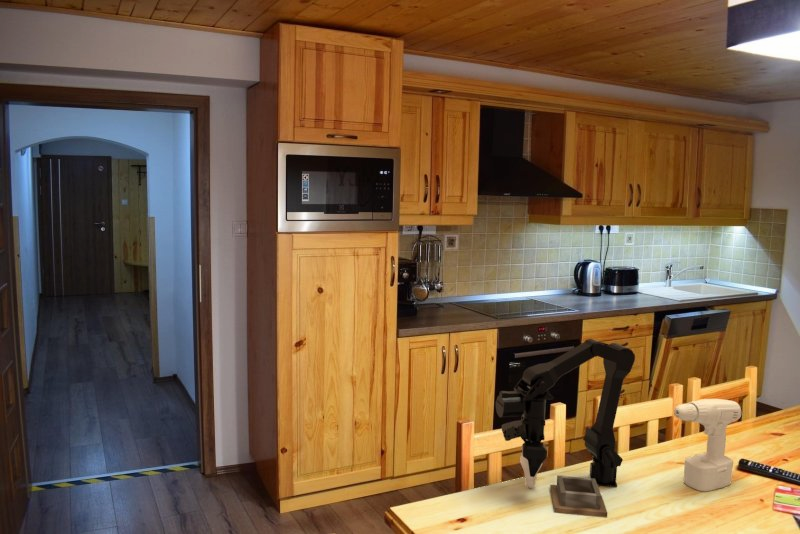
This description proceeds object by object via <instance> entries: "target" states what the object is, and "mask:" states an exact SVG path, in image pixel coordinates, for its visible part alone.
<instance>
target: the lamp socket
mask: <svg viewBox="0 0 800 534" xmlns="http://www.w3.org/2000/svg"><path fill="white" fill-rule="evenodd" d="M549 491H550V495H551V500H552V501H551V502H552V506H553V511H554V513H559V514H570V515H578V516H579V515H580V516H590V517H591V516H592V517H600V518H607V517H608V511H607V510H608V509H607V508H606V505H605V502H604V499H603V497H602V494H601V490H600V488H599V485H597V483H596V480H595V479H594V478H590V477H581V476H570V475H569V476H568V475H560V474H559V475H556V484H550V485H549Z"/></svg>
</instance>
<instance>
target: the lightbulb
mask: <svg viewBox="0 0 800 534" xmlns="http://www.w3.org/2000/svg"><path fill="white" fill-rule="evenodd" d="M519 461H520V466H521V467H522V469H523V472H524V473H523V474H524V480H525V481H524V482H525V486H526V487H527V488H528V489H533V488H534V487H535V484H536V480H537V475H538V473H539V471H540V470H541V468H542V466H543V463H544V462H543V463H542V464H541V466H540V468H539V469H538V471H537V473H536V475H535V476H534V477H531V476H530V471H529V464H528V460H527V459H526V458H524V457H523V454H522V453H521V454H520V458H519Z"/></svg>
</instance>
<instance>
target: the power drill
mask: <svg viewBox="0 0 800 534" xmlns="http://www.w3.org/2000/svg"><path fill="white" fill-rule="evenodd" d="M673 414H674V416H675V417H676V418H677V419H679V420H681V421H685V422H686V421H688V422H691V423H698V424H700V425H702V426H703V427H704V430H703V434H704V435H707V442H706V452H702V453H697V454H694V455H691V456H687V457H685V459H684V469H683V471H684V472H683V483H684V484H685V485H687V486H688V487H690V488H692V489H694V490H696V491H698V492H699V491H700V492H710V491H715V490H718V489H722V488H725V487H728V486H730V485H731V482H732V475H733V467H734V459H732V458H730V457H728V456H726V455H725V451H726V445H727V444H726V442H727V438H726V437H727V428H728V425H730V424H732V423H734V422H736V421H738V420H739V419H740V418H741V416H742V409H741V405H740V404H739V403H738V402H736V401H734V400H730V399H723V398H722V399H721V398H703V399H698V400H693V401H689V402H687V403H680V404H678V405H676V406H675V408H674V409H673Z"/></svg>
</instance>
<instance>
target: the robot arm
mask: <svg viewBox="0 0 800 534" xmlns="http://www.w3.org/2000/svg"><path fill="white" fill-rule="evenodd" d="M595 357H598V358H602V359H603V368H604V371H605V376H604V381H603V385H602V390H601V395H600V399H599V403H598V408H597V413H596V418H595V422H594V424H592V426H591V427H589V426H586V427H585V433H584V434H585V435H584V437H583V439H582V440H583V441H584V447H585V448H586V449H587V451H588V453H589V455H590V456H592V462H590V464H589V478H594V479H595V480H596V483H597V486H602V487H603V486H604V487H613V488H614V487H615V488H617V487H618V484H617V475H618V474H617V473H618V472H617V471H618V467H621V465H622V464H623V461H624V459H623V458H622V457H621V456H620V455H619V453H618V452H616V437H615V433H614V427H615V426H614V424H615V421H616V416H617V412H618V407H619V403H620V399H621V394H622V393H621V392H622V388H623V383H624V380H625V378H626V377H627V376H629V374H630V373H631V371H632V369H633V366H634V363H635V361H636V355H635V353H634V351H633V350H632V349H630V348H628V347H626V346H624V345H622V344H620V343H617V342H612V343H610V344H609V343H605V342H602V341H600V340H599V341H598V340H595V339H593V338H588V339H586V340H584V341H583V342H582V343H581V344H579V345H577V346H576V347H574V348H572V349H570V350H568V351H566V352H564V353H563V354H561V355H560V356H558V357H556V358H555V359H552V360H551V361H548V362H544V363H537V364H535V365H533V366H532V365H531V366H529V367H527V368H526V369H525V370H523V374H522V377H521V378H520V379H519V381H518V382H517V383H516V385H515V386H514V387H513V390H512V391H511V390H510V391H509V390H508V391H506V390H500V391H499V395H497V397H496V400H495V411H496V414H497V416H498V417H499V418H510V417H521V419H519V420H514V421H509V422H506V423H503V424H501V432H502V435H503V437H504V440H505V441H506V442H509V441H511V440H514V439H518V438H520V439H521V440H522V441H523V443H522V445H521V448H522V450H521V454H523V457H524V458H526V459H527V460H528V464H529V471H530V476H531V477H534V476H535V475H536V473H537V471H538V469H539V468H540V466H541V464H542V463H544V461H546V459H547V458H548V450H547V449H548V448H547V445H546V444H545V443H544V442H543V441H545V439H546V438H545V437H546V436H545V426H546V403H547V400H548V401H549V400H554V399H555V397H554V396H553V395H552V394H551V393H550V391H549V390H550V389H551V388H553V387H554V386H555V385H556V384H557V383H556V382H557V381H558V380H559V379H560V378H561V377H562V376H564V375H566V374H568V373H570V372H571V371H573V370H574V369H576V368H578V367H580V366H582V365H583V364H585V363H587V362H589V361H590V360H593V358H595ZM527 388H528V389H529V390H528V389H527ZM542 465H543V464H542ZM541 467H542V466H541ZM540 469H541V468H540ZM540 469H539V470H540ZM538 472H539V471H538ZM537 474H538V473H537Z"/></svg>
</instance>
